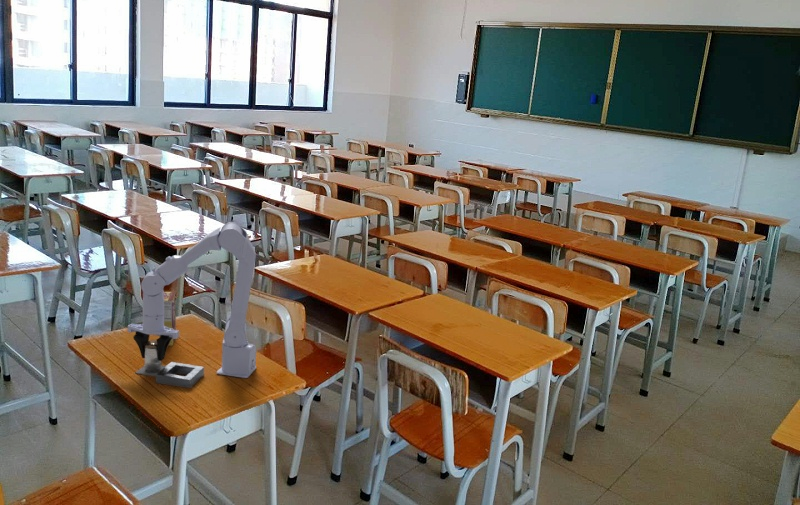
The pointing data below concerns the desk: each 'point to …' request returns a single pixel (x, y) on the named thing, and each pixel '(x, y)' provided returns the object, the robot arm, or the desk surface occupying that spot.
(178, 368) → the housing
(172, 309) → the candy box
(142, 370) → the mat
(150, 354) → the metal cylinder
